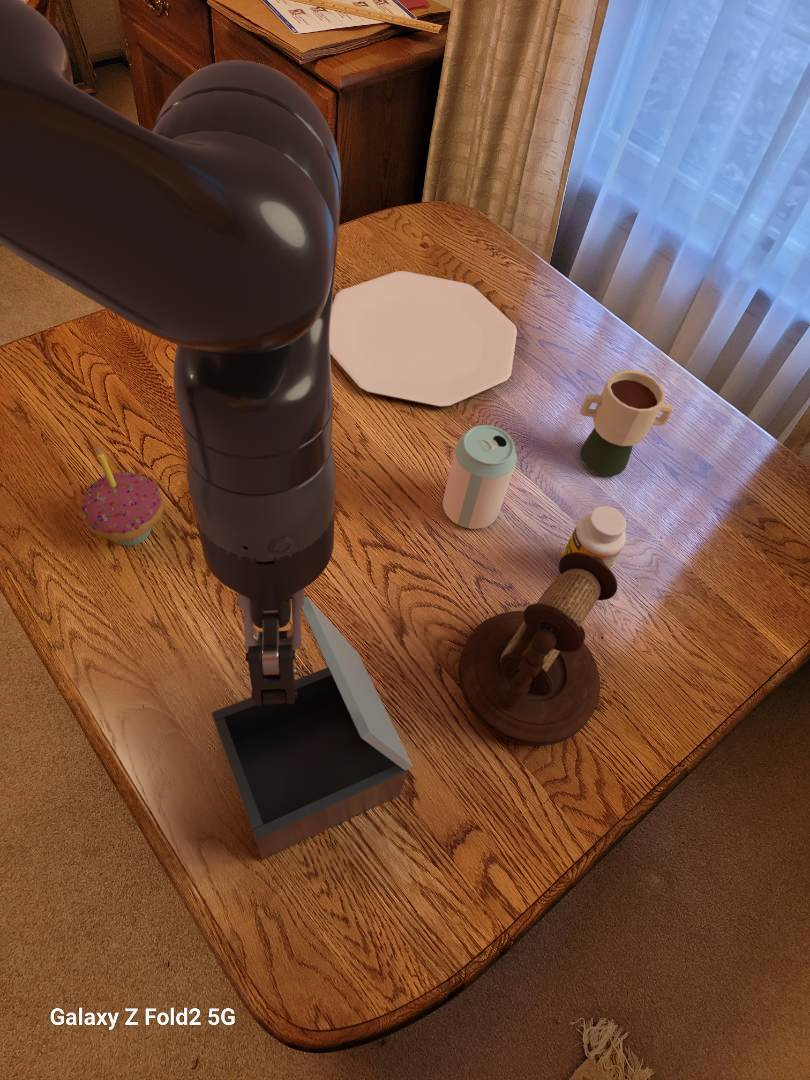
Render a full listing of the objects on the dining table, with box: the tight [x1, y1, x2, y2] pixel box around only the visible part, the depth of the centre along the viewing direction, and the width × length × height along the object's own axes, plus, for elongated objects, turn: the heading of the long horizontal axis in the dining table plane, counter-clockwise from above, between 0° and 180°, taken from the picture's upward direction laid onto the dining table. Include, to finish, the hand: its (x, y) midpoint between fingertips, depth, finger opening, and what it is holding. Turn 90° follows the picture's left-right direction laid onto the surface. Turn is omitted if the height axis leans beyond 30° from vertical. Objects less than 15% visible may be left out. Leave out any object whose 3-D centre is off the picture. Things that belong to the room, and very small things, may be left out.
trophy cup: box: [579, 369, 674, 478], centre depth 93 cm, size 11×7×13 cm, turn 86°
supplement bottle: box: [558, 505, 627, 570], centre depth 84 cm, size 6×6×10 cm
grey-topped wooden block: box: [301, 595, 414, 771], centre depth 61 cm, size 15×12×1 cm
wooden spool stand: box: [458, 552, 618, 747], centre depth 71 cm, size 15×15×20 cm
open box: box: [211, 666, 409, 861], centre depth 68 cm, size 14×12×8 cm
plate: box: [329, 270, 518, 408], centre depth 108 cm, size 28×28×2 cm
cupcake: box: [81, 447, 165, 547], centre depth 80 cm, size 9×8×12 cm
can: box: [442, 424, 518, 530], centre depth 87 cm, size 7×7×12 cm
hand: (277, 636), depth 53 cm, fingers open, 8 cm apart
